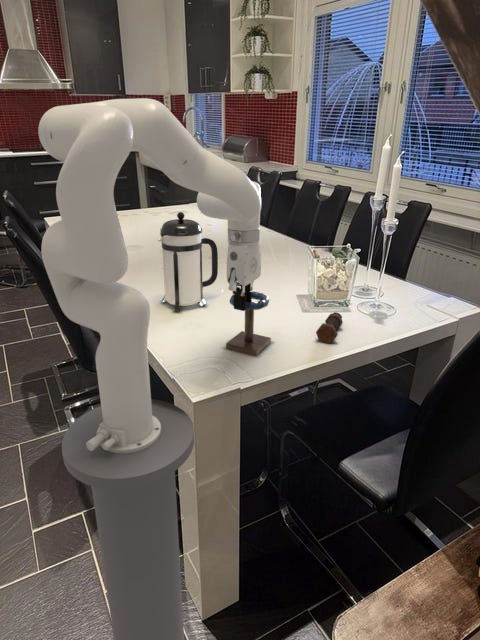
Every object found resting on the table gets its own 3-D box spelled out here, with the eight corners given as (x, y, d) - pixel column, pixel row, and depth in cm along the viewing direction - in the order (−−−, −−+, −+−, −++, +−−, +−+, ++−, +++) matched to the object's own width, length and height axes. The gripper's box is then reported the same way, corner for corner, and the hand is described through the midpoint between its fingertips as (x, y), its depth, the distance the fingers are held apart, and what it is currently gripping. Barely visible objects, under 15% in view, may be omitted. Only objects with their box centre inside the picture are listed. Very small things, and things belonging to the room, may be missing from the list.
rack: (256, 355, 120) (257, 314, 115) (226, 348, 124) (225, 308, 119) (270, 342, 127) (272, 303, 123) (241, 335, 131) (242, 297, 127)
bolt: (338, 328, 141) (327, 347, 128) (324, 318, 141) (312, 336, 128) (349, 314, 138) (339, 332, 125) (335, 304, 138) (324, 321, 125)
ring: (259, 314, 114) (259, 306, 114) (222, 306, 119) (222, 299, 118) (275, 301, 123) (275, 294, 122) (240, 294, 127) (240, 287, 126)
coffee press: (200, 315, 144) (197, 218, 132) (153, 309, 148) (146, 214, 137) (218, 297, 159) (218, 208, 148) (175, 292, 164) (171, 205, 152)
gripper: (241, 244, 102) (240, 321, 109) (271, 230, 115) (269, 300, 122) (212, 240, 105) (213, 315, 113) (245, 227, 118) (244, 295, 126)
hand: (242, 307), depth 117 cm, fingers closed on ring, 2 cm apart
